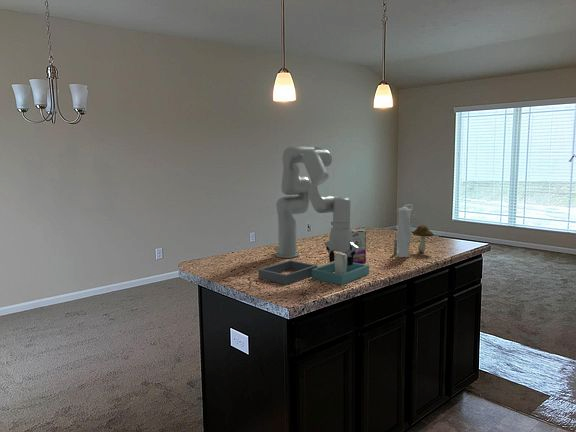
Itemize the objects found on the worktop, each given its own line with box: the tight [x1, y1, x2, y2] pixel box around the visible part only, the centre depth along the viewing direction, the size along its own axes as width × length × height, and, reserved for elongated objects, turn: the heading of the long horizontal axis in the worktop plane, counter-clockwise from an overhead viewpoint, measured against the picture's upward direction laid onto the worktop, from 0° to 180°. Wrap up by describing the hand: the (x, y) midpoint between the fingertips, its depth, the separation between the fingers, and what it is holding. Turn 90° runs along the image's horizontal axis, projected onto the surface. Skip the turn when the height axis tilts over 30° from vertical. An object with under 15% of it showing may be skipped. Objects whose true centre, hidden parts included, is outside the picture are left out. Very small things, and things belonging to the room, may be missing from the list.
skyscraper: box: [392, 203, 414, 259], centre depth 241 cm, size 8×8×28 cm
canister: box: [334, 252, 347, 275], centre depth 205 cm, size 5×5×10 cm
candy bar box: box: [341, 228, 367, 264], centre depth 229 cm, size 11×5×16 cm, turn 105°
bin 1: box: [257, 259, 318, 286], centre depth 205 cm, size 16×22×4 cm
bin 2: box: [311, 261, 370, 286], centre depth 205 cm, size 16×22×4 cm
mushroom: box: [412, 224, 434, 253], centre depth 250 cm, size 9×11×15 cm
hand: (340, 263), depth 204 cm, fingers open, 9 cm apart
